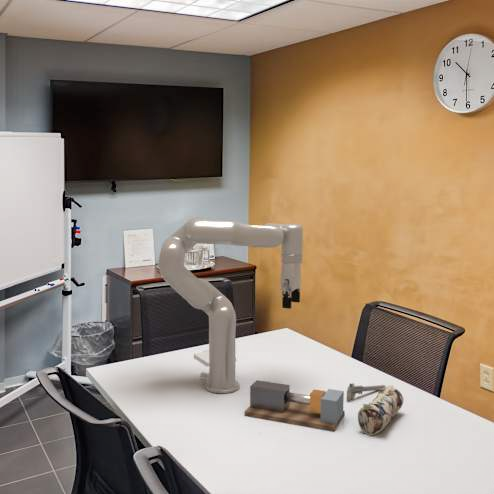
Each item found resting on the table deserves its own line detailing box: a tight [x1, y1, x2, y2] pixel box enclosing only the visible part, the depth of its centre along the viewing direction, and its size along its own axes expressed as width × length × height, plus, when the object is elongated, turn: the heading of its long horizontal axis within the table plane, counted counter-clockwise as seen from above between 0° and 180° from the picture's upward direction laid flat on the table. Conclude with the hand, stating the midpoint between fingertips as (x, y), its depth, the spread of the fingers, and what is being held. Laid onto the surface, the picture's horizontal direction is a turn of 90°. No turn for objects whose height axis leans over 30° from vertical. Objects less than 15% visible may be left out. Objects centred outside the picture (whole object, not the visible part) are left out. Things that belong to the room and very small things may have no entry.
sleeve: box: [249, 379, 291, 413], centre depth 207 cm, size 12×6×7 cm, turn 67°
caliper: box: [346, 382, 387, 402], centre depth 222 cm, size 21×1×6 cm, turn 129°
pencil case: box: [357, 384, 404, 436], centre depth 198 cm, size 22×8×10 cm, turn 150°
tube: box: [285, 388, 327, 414], centre depth 202 cm, size 18×4×6 cm, turn 67°
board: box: [244, 402, 346, 432], centre depth 204 cm, size 30×13×2 cm, turn 67°
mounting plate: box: [193, 349, 237, 368], centre depth 259 cm, size 18×13×2 cm
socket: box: [320, 388, 345, 424], centre depth 199 cm, size 5×9×8 cm, turn 157°
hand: (291, 305), depth 226 cm, fingers open, 9 cm apart
